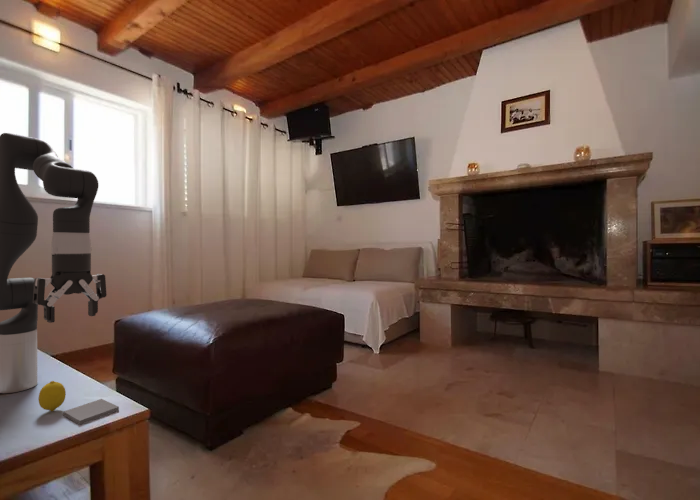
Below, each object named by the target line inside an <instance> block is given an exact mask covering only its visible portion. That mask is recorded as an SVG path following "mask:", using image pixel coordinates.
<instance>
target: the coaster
mask: <svg viewBox="0 0 700 500" xmlns="http://www.w3.org/2000/svg"><path fill="white" fill-rule="evenodd" d="M119 410H120V407H119V406H118V405H116V404H114V403H112V402H110V401H107V400H106V399H103V398H100V399H97V400H94V401H91V402H87V403H84V404H82V405H80V406H79V405H78V406H75V407H72V408H69V409H67V410H64V411H62V415H63V417H66V418H67V419H69V420H71V421H73V422H74V423H76V424H77V425H79V426H80V425H83V424H87V423H89V422H91V421H94V420H96V419H99V418H102V417H104V416H107V415H111V414H113V413H115V412H119Z"/></svg>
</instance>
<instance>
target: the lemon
mask: <svg viewBox="0 0 700 500" xmlns="http://www.w3.org/2000/svg"><path fill="white" fill-rule="evenodd" d="M65 400H66V388H65V386H64V385H63V383H61V382H59V381H54V380H51V381H49V382H47V383H46V384H45V385H43V387H41V389H40V390H39V394H38V400H37V401H38V405H39V407H40V408H42V409H43V410H45V411H49V412H55V410H56V409H57V408H59V407H61V406H62V405H63V403H64V402H65Z"/></svg>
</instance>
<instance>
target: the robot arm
mask: <svg viewBox="0 0 700 500" xmlns="http://www.w3.org/2000/svg"><path fill="white" fill-rule="evenodd" d="M16 169H19V170H27V171H33V173H34V175H36V177H37V178H38V179H39V180H41V181H42V186H43V190H44V191H45V192H46V194H48V195H51V196H53V197H57V198H69V199H77V201H76V203H75V204H74V205H73V206H66V207H65V206H64V207H58V208H55V209H54V210H53V211H52V236H51V275H50V277H49V278H46V277H45V278H44V277H36V278H34V277H15V278H14V277H12V278H11V277H10V278H9V274H10V272H11V271H12V268H13V266H14V264H15V263H16V262H17V261H18V259H20V257H21V256H23V254H24V253H25V252H27V250H28V249H29V248H30V247H31V246H32V245H33V243H35V241H36V238H37V235H38V224H39V222H38V221H39V215H38V213H37V211H36V209H35V208H34V206H33V205H32V204H31V202H30V201H29V199H28V198H27V197H26V195H25V194H24V192H23V191H22V189H21V188H20V185H19V184H18V180H17V178H16ZM98 191H99V180H98V178H97V176H96V174H94V173H93V172H92V171H89V170H84V169H78V168H73V166H71V165H70V164H69V163H68V162H66V161H64V160H63V159H61V158H60V157H59V155H58V154H57V153H56V151H55V150H54V149H53V147H52V146H51V145H50V144H49V142H47V141H45V140H43V139H40V138H36V137H31V136H26V135H20V134H17V133H16V134H15V133H10V132H3V133H1V134H0V311H8V310H18V309H19V310H20V311H19V312H18V313H16V314H15V315H14V316H12V317H9V318H7V319H5V320H2V321H0V394H11V393H18V392H22V391H26V390H29V389H32V388H34V387H35V386H37V385H38V316H39V314H38V313H39V311H38V310H39V306H42V307H43V319H44V320H45V321H46V322H47V323H50V324H51V323H52V324H53V323H55V311H56V310H55V307H56V306H54V304H56V302H58V300H59V299H61V298H62V296H63V295H67V296H68V295H73V294H83V295H84V296H85V297H86V298H88V301H87V309H88V310H87V314H88V316H89V317H95V316H96V314H98V311H99V300H100V299H103V298H106V297H107V295H108V294H107V284H106V283H107V282H106V275H105V274H104V273H103V274H102V273H96V274H92V273H91V271H92V240H91V236H90V235H91V234H90V230H91V229H90V226H91V225H90V223H91V222H90V218H91V214H92V209H93V205H94V201H95V199H96V196H97V193H98ZM92 281H93V283H95V290H96V291H94V290H93V288H92V287H91V286H89V285H90V284H91V282H92ZM49 284H50V285H52V287H53V288H52V289H51V290H50V292H49V293H48V295H47V297H46V298H45V291H46V288H47V287H48V286H49Z"/></svg>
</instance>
